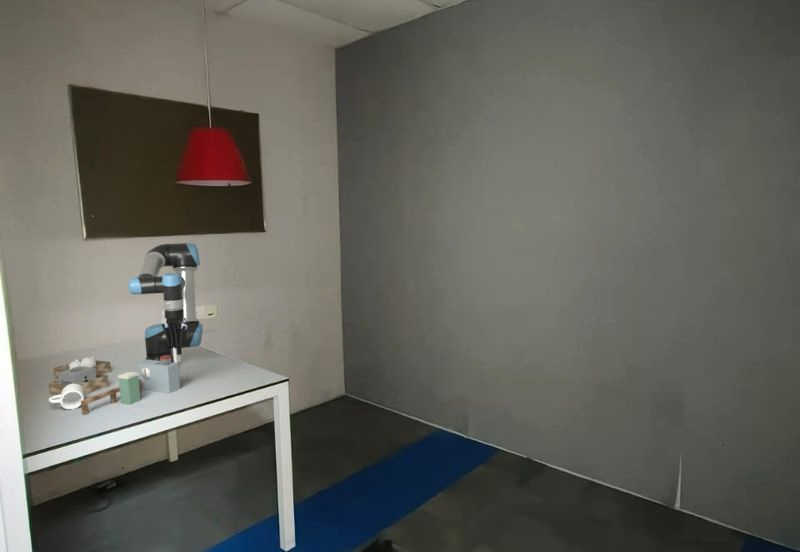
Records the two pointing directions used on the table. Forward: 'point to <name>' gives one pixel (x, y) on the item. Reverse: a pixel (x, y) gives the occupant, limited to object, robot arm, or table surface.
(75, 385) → the mug
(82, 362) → the cat figurine
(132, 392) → the green rectangular block
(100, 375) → the corral
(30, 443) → the table surface
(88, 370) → the icon cube
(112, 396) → the handrail
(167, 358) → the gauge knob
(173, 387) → the end cabinet
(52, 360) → the table surface
